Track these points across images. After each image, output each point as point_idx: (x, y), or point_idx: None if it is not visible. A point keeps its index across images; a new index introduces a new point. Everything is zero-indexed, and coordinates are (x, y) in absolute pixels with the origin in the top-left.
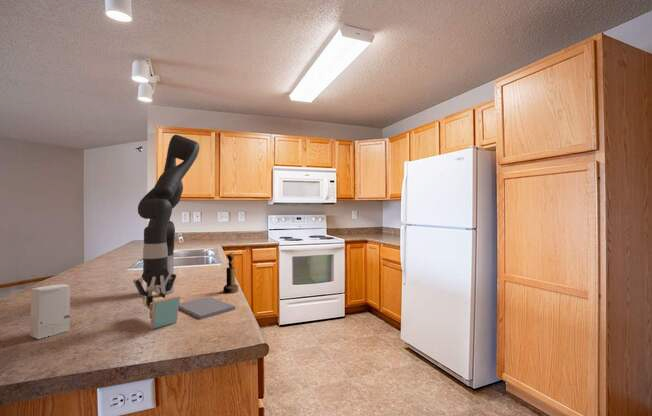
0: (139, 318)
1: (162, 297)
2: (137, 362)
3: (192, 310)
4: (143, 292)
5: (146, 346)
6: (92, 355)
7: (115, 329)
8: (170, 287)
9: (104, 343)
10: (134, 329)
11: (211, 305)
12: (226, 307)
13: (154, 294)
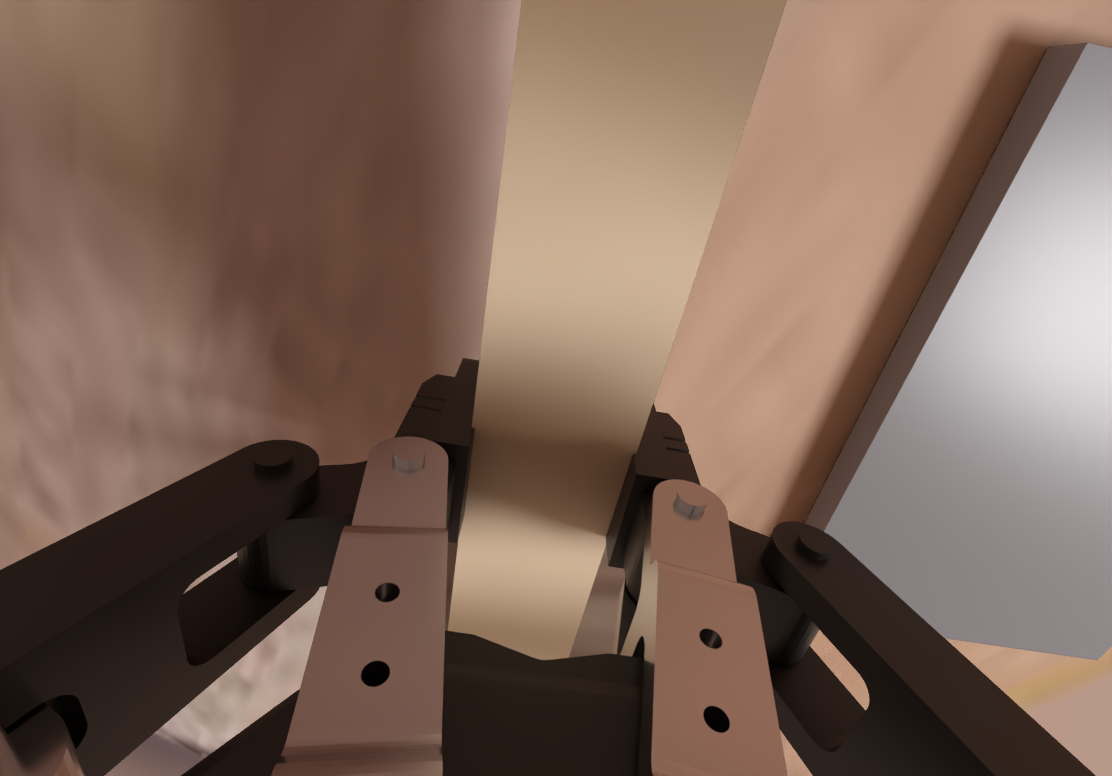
0: (495, 55)
1: (596, 565)
2: (204, 740)
3: (881, 464)
4: (247, 610)
5: (289, 656)
6: (4, 541)
7: (183, 193)
8: (795, 683)
9: (73, 433)
10: (324, 357)
11: (1092, 494)
12: (1046, 631)
13: (603, 370)
